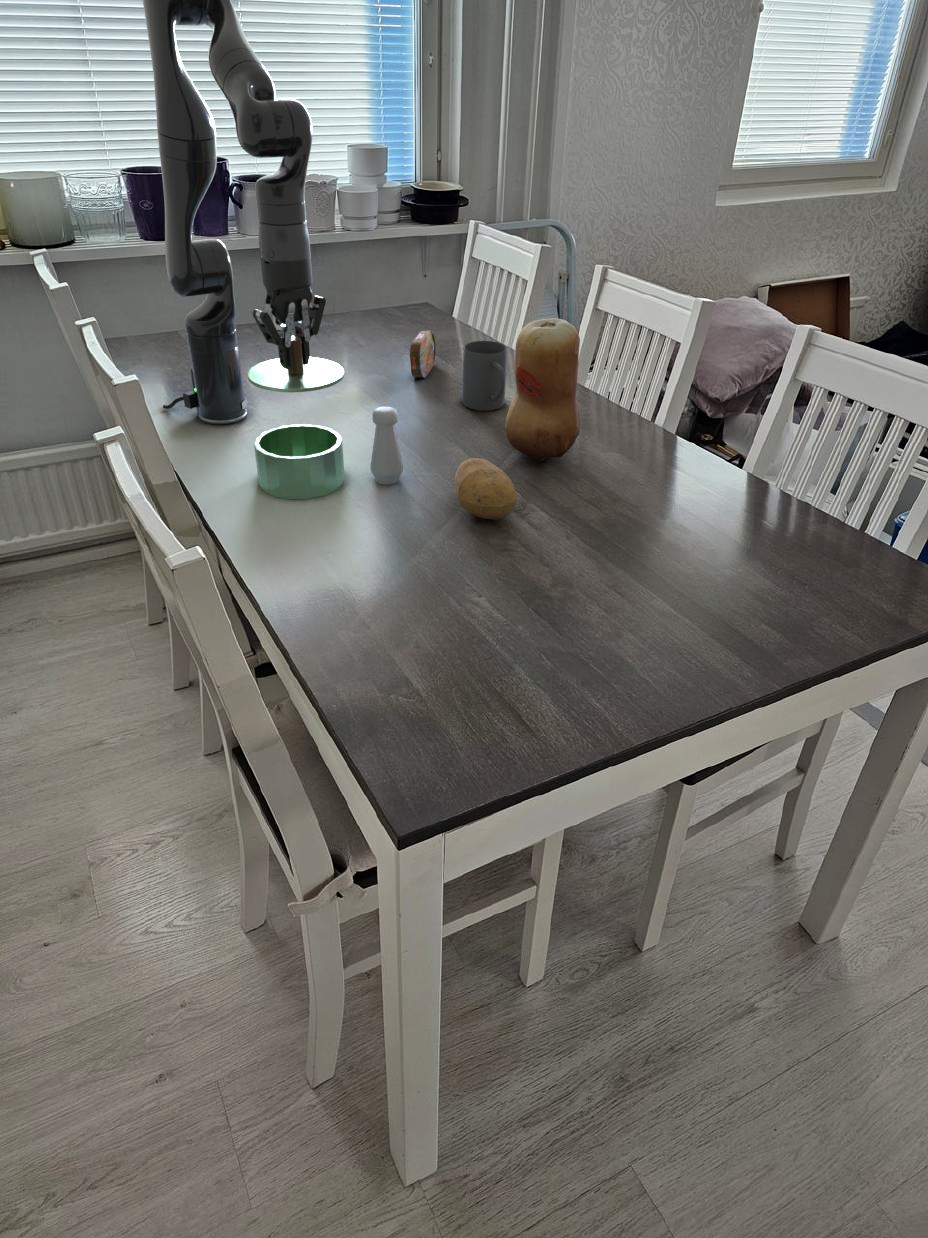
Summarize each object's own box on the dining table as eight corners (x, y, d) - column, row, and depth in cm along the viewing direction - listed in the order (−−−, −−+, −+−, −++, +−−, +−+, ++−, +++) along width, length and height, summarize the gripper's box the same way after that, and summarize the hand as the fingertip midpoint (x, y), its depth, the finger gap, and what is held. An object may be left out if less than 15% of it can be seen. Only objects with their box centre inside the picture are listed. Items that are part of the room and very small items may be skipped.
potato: (473, 538, 134) (474, 492, 130) (442, 500, 145) (443, 456, 140) (529, 528, 137) (533, 483, 133) (495, 491, 148) (497, 448, 143)
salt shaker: (370, 472, 153) (367, 402, 146) (403, 472, 154) (401, 402, 146) (370, 487, 148) (367, 415, 141) (403, 486, 149) (402, 415, 141)
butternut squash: (489, 456, 160) (494, 320, 146) (534, 436, 168) (543, 305, 154) (547, 479, 152) (559, 337, 138) (591, 457, 161) (607, 322, 146)
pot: (243, 491, 146) (237, 450, 142) (285, 458, 158) (281, 419, 153) (321, 505, 142) (317, 464, 138) (357, 470, 154) (355, 431, 150)
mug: (455, 398, 185) (456, 342, 178) (493, 393, 188) (495, 338, 181) (481, 421, 174) (483, 362, 168) (521, 415, 177) (524, 357, 171)
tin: (421, 382, 192) (421, 345, 188) (408, 381, 193) (407, 344, 188) (436, 362, 205) (436, 326, 200) (423, 361, 205) (423, 325, 200)
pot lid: (229, 388, 137) (224, 345, 133) (277, 358, 149) (273, 319, 145) (318, 401, 133) (314, 358, 129) (359, 370, 145) (358, 330, 141)
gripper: (302, 242, 136) (311, 351, 146) (232, 256, 127) (246, 371, 137) (336, 249, 132) (342, 360, 142) (266, 264, 123) (278, 382, 133)
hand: (295, 365), depth 139 cm, fingers closed on pot lid, 2 cm apart
